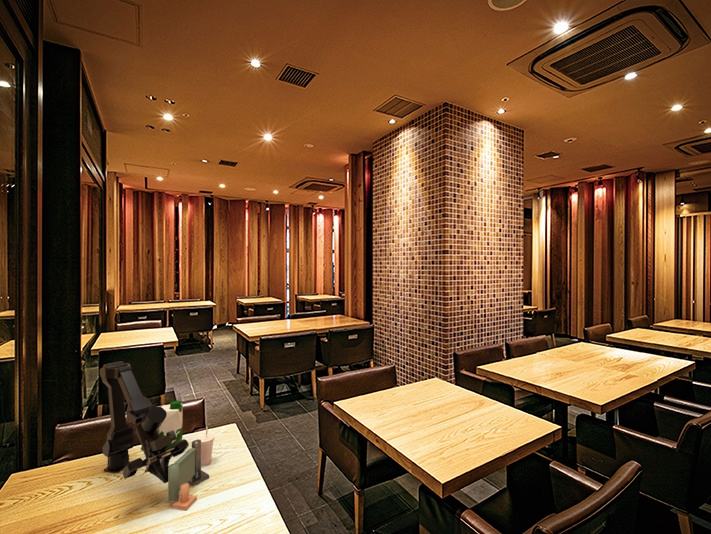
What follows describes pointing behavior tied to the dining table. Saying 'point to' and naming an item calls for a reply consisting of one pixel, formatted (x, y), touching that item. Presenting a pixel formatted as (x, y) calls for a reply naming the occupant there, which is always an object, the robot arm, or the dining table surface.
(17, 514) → the dining table surface
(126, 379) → the robot arm
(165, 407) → the milk carton
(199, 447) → the hinge post
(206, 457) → the smoothie
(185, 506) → the post
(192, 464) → the gate
